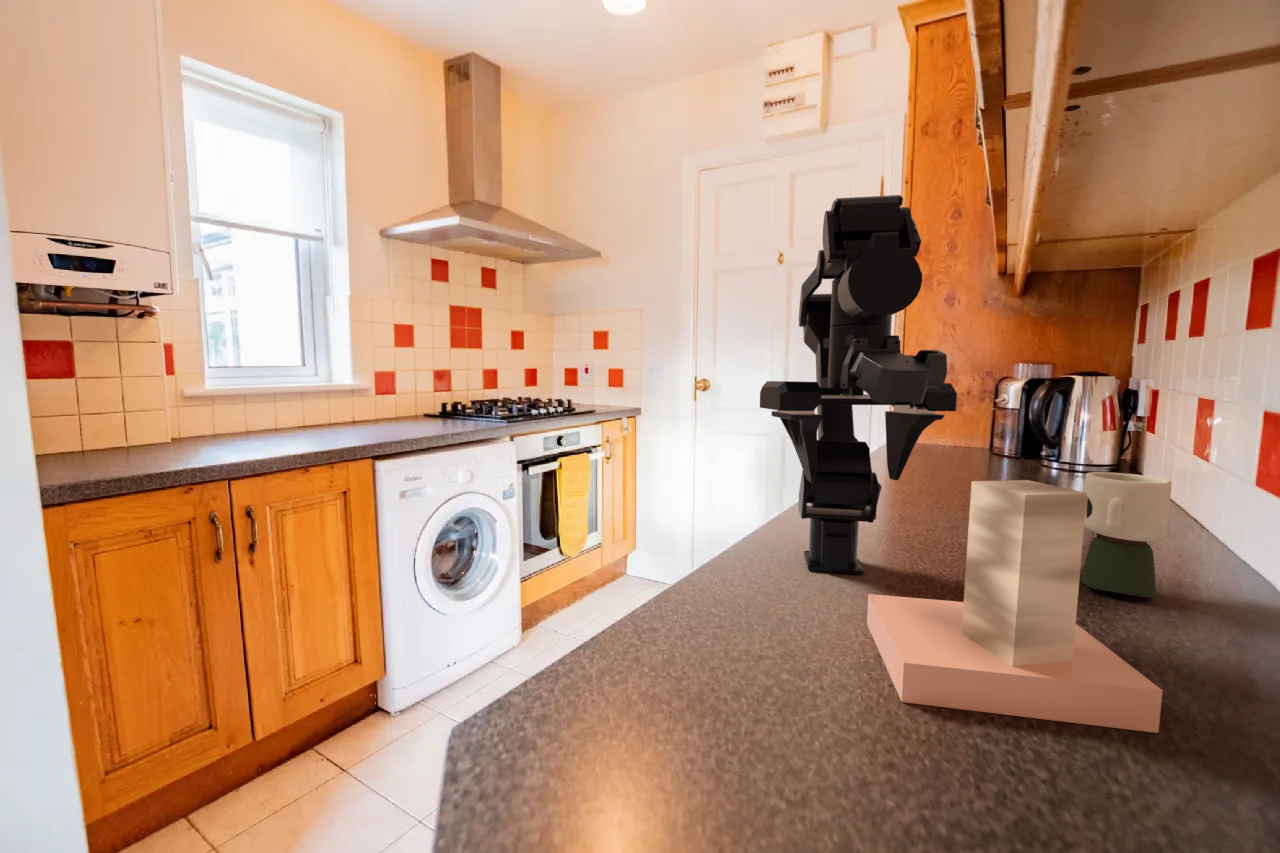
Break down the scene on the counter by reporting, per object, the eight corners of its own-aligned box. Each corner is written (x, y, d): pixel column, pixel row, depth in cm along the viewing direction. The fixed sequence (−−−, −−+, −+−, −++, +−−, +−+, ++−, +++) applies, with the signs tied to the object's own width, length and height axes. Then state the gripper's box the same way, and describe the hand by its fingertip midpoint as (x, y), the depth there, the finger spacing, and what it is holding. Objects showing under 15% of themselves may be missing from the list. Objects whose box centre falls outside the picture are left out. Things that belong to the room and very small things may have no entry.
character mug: (1089, 572, 68) (1098, 468, 67) (1168, 590, 62) (1180, 476, 61) (1063, 593, 61) (1072, 477, 60) (1149, 616, 56) (1162, 488, 54)
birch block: (961, 634, 45) (971, 481, 43) (1016, 630, 45) (1027, 480, 44) (1012, 666, 40) (1025, 494, 39) (1072, 661, 40) (1086, 493, 39)
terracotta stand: (866, 624, 53) (868, 593, 53) (1055, 642, 50) (1058, 610, 49) (901, 702, 40) (903, 662, 40) (1158, 733, 37) (1162, 690, 37)
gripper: (809, 315, 46) (802, 500, 47) (1007, 321, 49) (995, 495, 50) (760, 327, 57) (755, 476, 58) (924, 331, 60) (915, 473, 61)
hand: (853, 480), depth 57 cm, fingers open, 9 cm apart
